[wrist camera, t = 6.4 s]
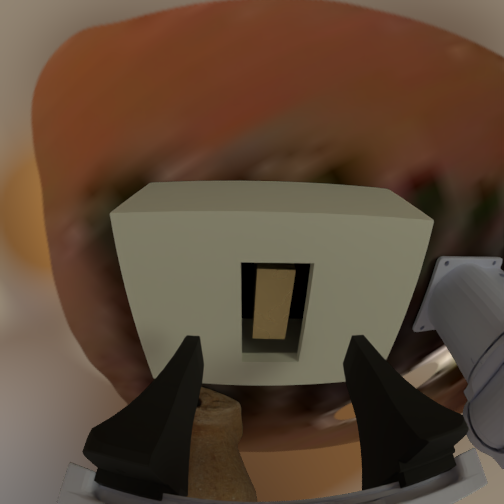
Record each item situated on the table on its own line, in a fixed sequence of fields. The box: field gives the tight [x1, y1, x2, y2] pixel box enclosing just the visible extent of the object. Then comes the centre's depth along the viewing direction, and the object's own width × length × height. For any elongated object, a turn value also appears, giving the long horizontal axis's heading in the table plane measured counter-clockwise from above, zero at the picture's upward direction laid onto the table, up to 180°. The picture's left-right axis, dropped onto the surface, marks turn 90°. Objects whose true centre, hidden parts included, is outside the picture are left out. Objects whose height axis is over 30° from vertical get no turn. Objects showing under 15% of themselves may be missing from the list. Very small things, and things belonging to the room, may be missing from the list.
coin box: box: [110, 181, 434, 385], centre depth 18 cm, size 16×12×6 cm
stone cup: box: [187, 387, 257, 502], centre depth 23 cm, size 15×12×15 cm
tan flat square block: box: [252, 263, 296, 339], centre depth 18 cm, size 2×5×5 cm, turn 177°
